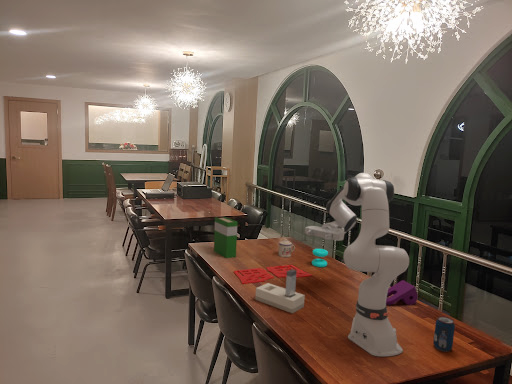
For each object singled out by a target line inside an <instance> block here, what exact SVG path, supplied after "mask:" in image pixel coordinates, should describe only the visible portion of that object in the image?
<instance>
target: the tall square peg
mask: <svg viewBox="0 0 512 384" xmlns="http://www.w3.org/2000/svg"><path fill="white" fill-rule="evenodd" d="M296 271H297V270H295V269H294V270H293V269H291V270H290V269H289V271H287V277H285V279H286V280H285V289H286V292H285V296H286V297H289V298H291V297H293V296H295V292H296V285H297V284H296V282H297V278H296Z"/></svg>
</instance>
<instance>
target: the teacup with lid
mask: <svg viewBox="0 0 512 384" xmlns="http://www.w3.org/2000/svg"><path fill="white" fill-rule="evenodd" d="M294 250H295V245H294V244H293V243H292V242H291V241H289V240H288V239H287V238H284V239H283V240H281V241H279V242H278V256H279V257H282V258H290V257H291V256H292V252H293V251H294Z"/></svg>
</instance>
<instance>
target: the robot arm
mask: <svg viewBox="0 0 512 384" xmlns="http://www.w3.org/2000/svg"><path fill="white" fill-rule="evenodd" d="M394 187H395V185H394V184H393V183H392V182H391V181H389V180H384V179H383V180H382V179H377V178H374V177H373V176H372V175H371V174H369V173H367V172H360V173H357V174H356V175H355V176H354V177H349V178H347V179H346V181H345V182H344V185H343V186H342V187H341V188H339V190H338V191H337V192H336V193H335V194H334V196H333V197H332V198H331V199H329V201H328V202H327V203H326V205H325V211H326V212H327V213H328V214H329V215H330V216H331V217H332V218H333V219H334V221H331V222H326V223H324V224H322V226H317V225H308V226H305V228H304V234H305V235H307V236H314V237H319V238H322V239H324V240H327V241H329V240H333V241H336V242H337V241H343V240H344V238H345V234H347V232H350V231H351V230H352V229H353V228H354V227H355V226H356V225H357V221H358V216H357V215H356V213H354V212H353V211H352V209H350V208H349V207H348V206H347V205H346V203H348V204H349V205H352V206H356V207H357V206H361V223H360V225H361V226H360V231H359V234H358V236H357V237H356V239H355V240H354V241H353V242H352V243H350V244H349V245H348V246H346V248H345V249H344V252H343V256H342V257H343V262H344V264H345V266H346V267H347V268H348V269H349V270H354V271H356V272H365V273H374V274H372V275H371V276H370V277H369V278H366V279H364V280H363V281H361V283H360V284H359V287H358V297H357V298H358V299H357V300H356V305H355V310H356V312H355V315H354V317H353V319H352V323H351V327H350V328H351V329H350V332H349V334H348V335H347V338H348V340H350V341H351V342H353V343H354V344H356V345H357V346H358V347H360V348H361V349H362V350H364V351H365V352H367V353H368V354H370V355H371V356H373V357H374V356H375V357H393V356H397V355H398V356H399V355H400V354H401V353H403V350H404V349H403V348H402V347H401V345H400V344H399V343H398V339H397V338H398V337H397V329H396V328H395V327H393V326H392V323H391V321H390V319H389V318H388V317H389V315H390V312H388V309H387V305H386V299H387V293H388V289H389V288H390V287H391V284H392V283H393V282H394V280H395V279H396V278H397V277H398V276H400V275H401V274H402V273H404V272H406V271H407V269H408V267H409V266H410V257H409V255H408V253H407V251H406V250H405V249H404V248H402V247H401V248H400V247H397V246H393V245H378V244H376V239H380V238H382V237H383V236H385V235H387V234H388V233H389V230H390V209H389V208H390V206H389V204H390V203H391V201H393V199H394V195H395V188H394ZM343 201H345V202H346V203H344V202H343Z"/></svg>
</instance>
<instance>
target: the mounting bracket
mask: <svg viewBox="0 0 512 384" xmlns="http://www.w3.org/2000/svg"><path fill="white" fill-rule="evenodd" d="M418 296H419V295H418V291H417V288H416V286H414V285H412V284H411V283H410V282H407V281H406V280H403V279H401V280H400V281H399V282H397V283H395V284H394V285H391V286H389V289H388V293H387V299H386V306H390V305H393V304H396V303H397V302H398V301H400V300H402V302H403V303H404V304H406V305H407V306H412V305H415V304H416V303H417V301H418Z"/></svg>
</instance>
